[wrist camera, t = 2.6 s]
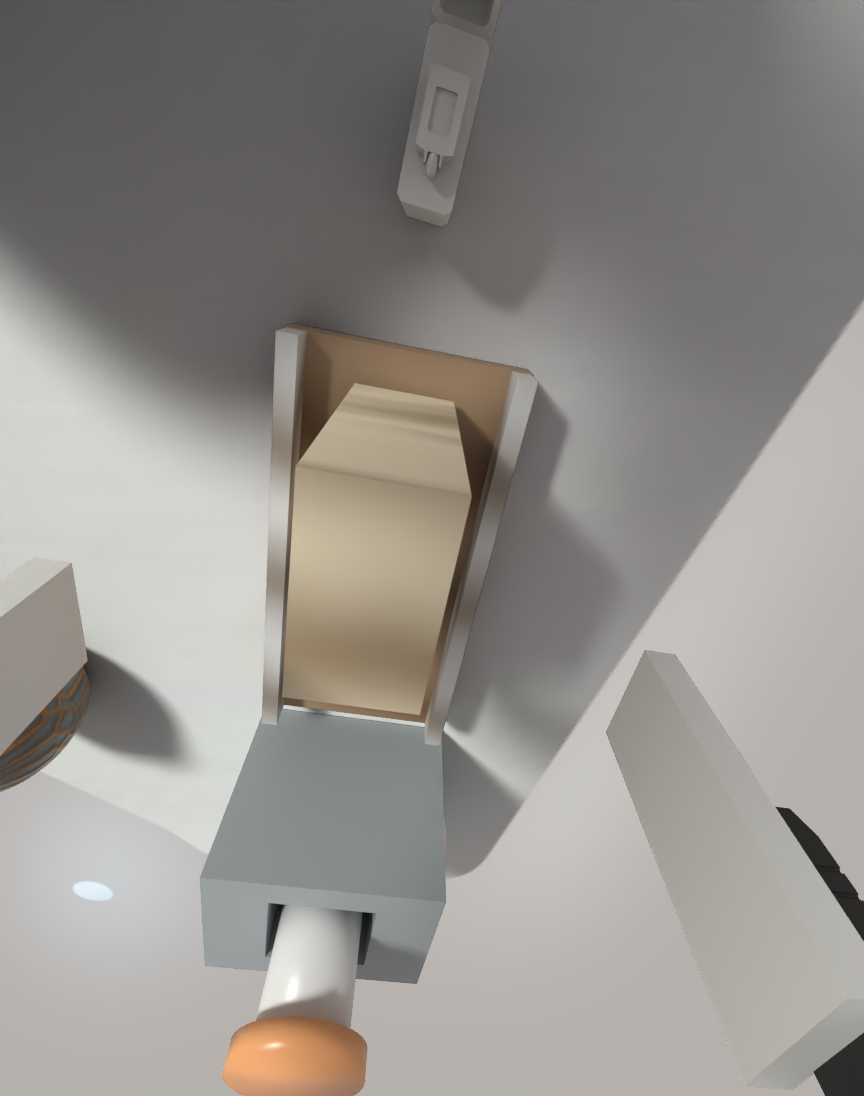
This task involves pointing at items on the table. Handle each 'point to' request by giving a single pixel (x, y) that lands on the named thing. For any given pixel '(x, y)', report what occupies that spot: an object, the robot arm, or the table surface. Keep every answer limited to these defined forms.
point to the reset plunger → (304, 1012)
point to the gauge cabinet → (331, 842)
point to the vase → (46, 733)
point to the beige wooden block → (374, 550)
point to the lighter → (445, 106)
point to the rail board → (490, 455)
